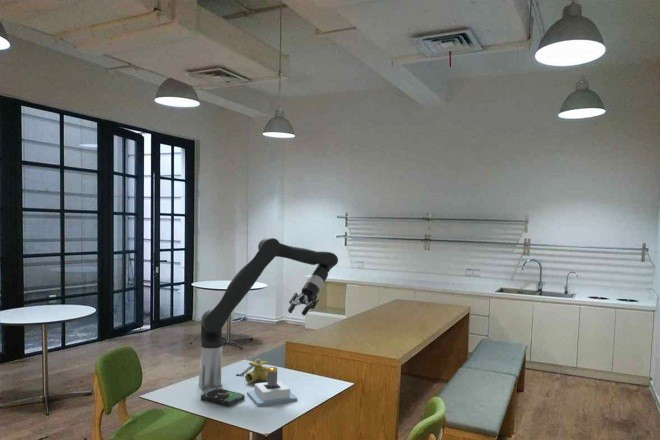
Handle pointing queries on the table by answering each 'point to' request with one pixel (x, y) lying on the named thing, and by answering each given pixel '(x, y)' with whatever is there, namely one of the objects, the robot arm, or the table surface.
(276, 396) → the socket mount
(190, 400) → the table surface
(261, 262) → the robot arm
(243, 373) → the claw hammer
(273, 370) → the gold topped tube
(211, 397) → the disk drive
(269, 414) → the table surface
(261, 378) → the ball valve
